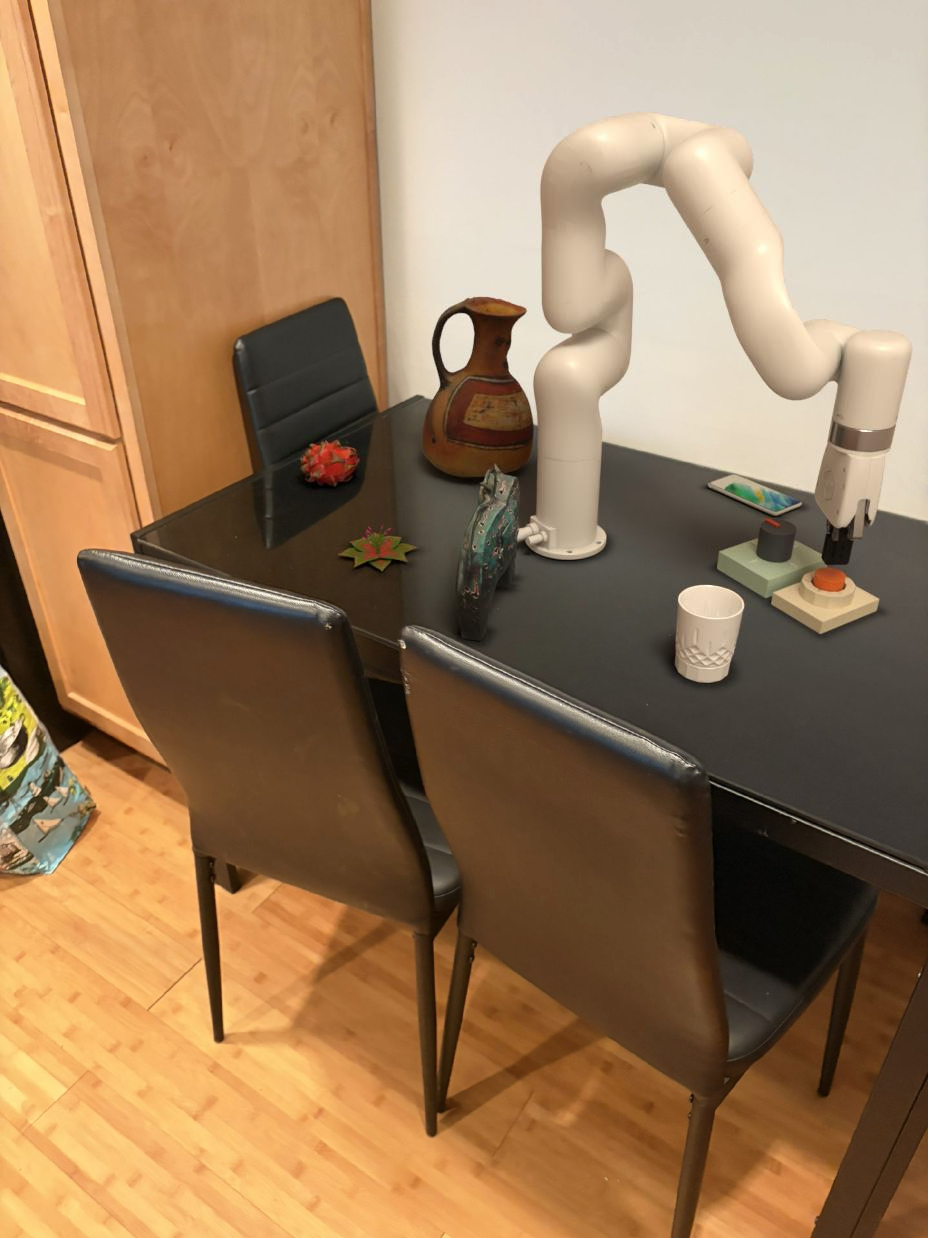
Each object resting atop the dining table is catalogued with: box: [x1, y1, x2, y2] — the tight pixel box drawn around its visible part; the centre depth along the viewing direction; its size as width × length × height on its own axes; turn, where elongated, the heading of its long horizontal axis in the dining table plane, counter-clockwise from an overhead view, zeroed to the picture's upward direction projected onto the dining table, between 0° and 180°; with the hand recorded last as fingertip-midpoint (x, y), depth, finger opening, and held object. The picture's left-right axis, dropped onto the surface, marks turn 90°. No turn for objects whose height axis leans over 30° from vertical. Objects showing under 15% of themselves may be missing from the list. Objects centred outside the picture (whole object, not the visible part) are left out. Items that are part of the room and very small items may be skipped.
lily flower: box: [337, 525, 419, 572], centre depth 149 cm, size 12×12×5 cm
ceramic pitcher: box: [421, 296, 535, 478], centre depth 169 cm, size 20×20×30 cm
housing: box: [770, 571, 880, 635], centre depth 133 cm, size 11×9×4 cm
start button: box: [813, 566, 847, 592], centre depth 132 cm, size 4×4×2 cm
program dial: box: [756, 517, 797, 562], centre depth 140 cm, size 5×5×5 cm
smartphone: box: [707, 473, 802, 517], centre depth 164 cm, size 7×1×15 cm
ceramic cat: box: [454, 463, 521, 642], centre depth 131 cm, size 20×6×20 cm, turn 163°
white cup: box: [674, 584, 745, 684], centre depth 120 cm, size 8×8×10 cm
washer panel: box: [716, 537, 828, 599], centre depth 142 cm, size 12×10×3 cm
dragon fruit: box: [299, 439, 361, 488], centre depth 171 cm, size 8×8×12 cm
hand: (834, 561), depth 130 cm, fingers closed
